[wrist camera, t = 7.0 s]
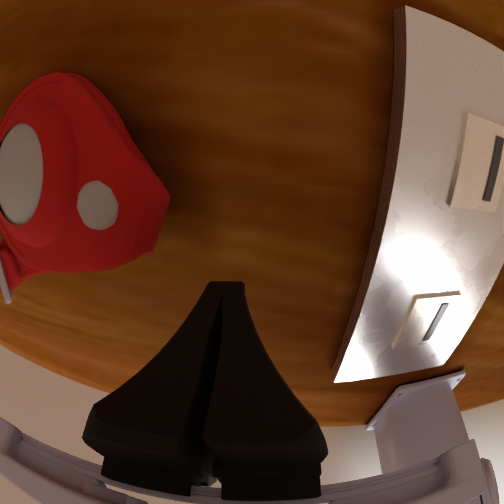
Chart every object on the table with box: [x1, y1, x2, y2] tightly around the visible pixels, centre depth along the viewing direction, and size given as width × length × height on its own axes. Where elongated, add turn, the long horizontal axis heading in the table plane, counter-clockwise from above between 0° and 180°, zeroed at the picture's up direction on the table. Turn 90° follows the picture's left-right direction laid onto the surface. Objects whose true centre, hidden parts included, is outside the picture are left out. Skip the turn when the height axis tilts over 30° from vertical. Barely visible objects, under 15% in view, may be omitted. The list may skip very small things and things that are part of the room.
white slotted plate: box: [332, 5, 504, 383], centre depth 11 cm, size 20×9×1 cm, turn 1°
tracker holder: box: [0, 72, 170, 304], centre depth 10 cm, size 12×4×10 cm
